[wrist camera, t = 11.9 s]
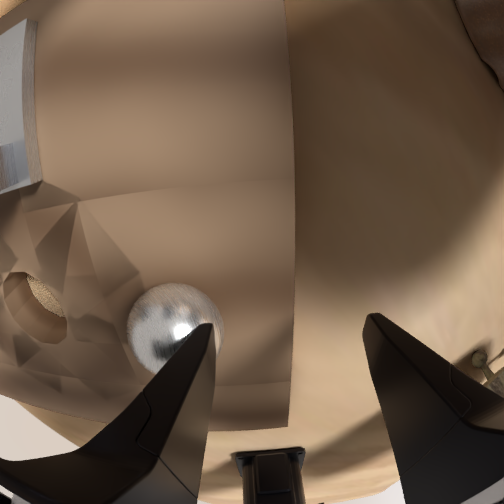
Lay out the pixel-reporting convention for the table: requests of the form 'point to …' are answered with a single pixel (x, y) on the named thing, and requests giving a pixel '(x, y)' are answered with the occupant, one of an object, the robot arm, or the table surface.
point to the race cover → (18, 108)
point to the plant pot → (486, 31)
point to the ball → (169, 322)
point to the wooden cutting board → (153, 200)
